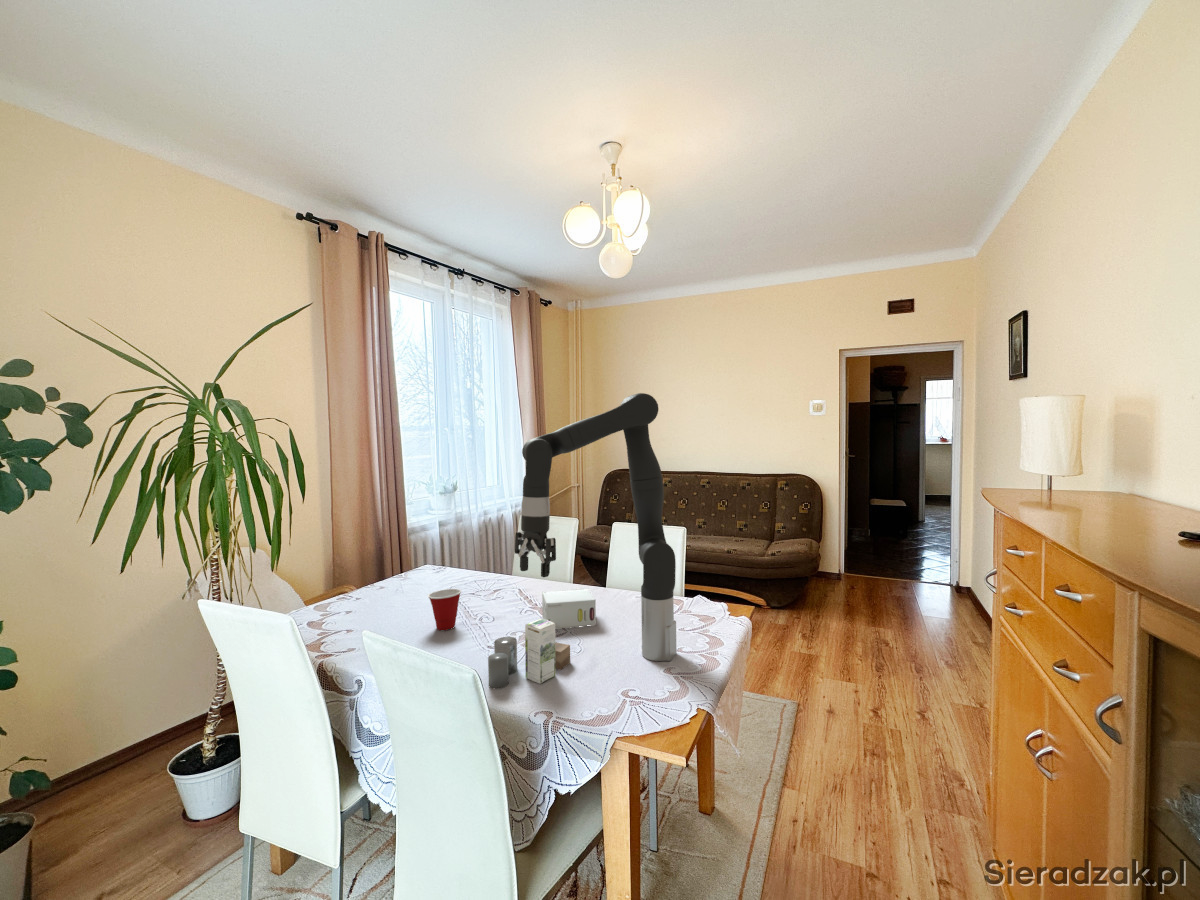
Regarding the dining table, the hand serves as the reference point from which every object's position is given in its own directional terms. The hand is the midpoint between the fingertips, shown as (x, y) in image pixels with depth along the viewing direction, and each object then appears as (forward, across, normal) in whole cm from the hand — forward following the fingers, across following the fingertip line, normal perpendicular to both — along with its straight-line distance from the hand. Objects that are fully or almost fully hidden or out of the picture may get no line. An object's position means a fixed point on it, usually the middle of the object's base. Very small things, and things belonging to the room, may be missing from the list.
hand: (534, 573), depth 135 cm
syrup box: (+27, -4, 0) cm, 27 cm away
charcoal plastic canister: (+27, +2, +10) cm, 29 cm away
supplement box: (+26, +20, -33) cm, 46 cm away
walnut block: (+26, -2, -8) cm, 28 cm away
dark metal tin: (+27, +7, +4) cm, 28 cm away
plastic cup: (+28, +48, -2) cm, 55 cm away
